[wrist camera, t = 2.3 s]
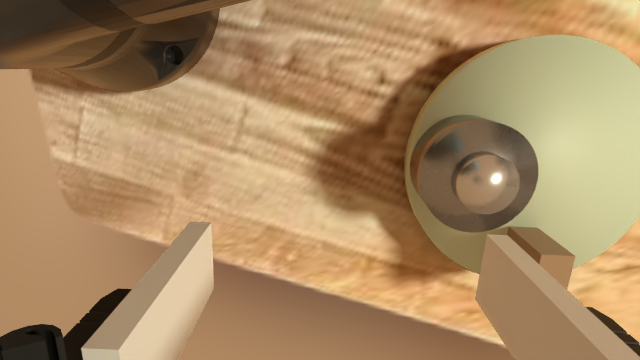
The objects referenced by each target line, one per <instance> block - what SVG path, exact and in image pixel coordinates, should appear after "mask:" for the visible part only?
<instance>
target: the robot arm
mask: <svg viewBox="0 0 640 360" xmlns="http://www.w3.org/2000/svg"><path fill="white" fill-rule="evenodd" d="M246 1H250V0H0V69H50V68H54V69H56V70H58V71H60V72H62V73H64V74H66V75H68V76H70V77H72V78H74V79H76V80H78V81H80V82H83V83H85V84H88V85H91V86H94V87H97V88H102V89H106V90H113V91H138V90H146V89H153V88H157V87H160V86H164V85H166V84H169V83H171V82H173V81H175V80H177V79H178V78H180V77H182V76H183V75H184V74H186V73H187V72H188V71H189V70H190V69H192V68H193V67H194V66H195V65H196V64H197V62H198V61H199V60H200V59H201V57H202V56H203V55H204V53H205V52H206V50H207V48H208V46H209V44H210V42H211V40H212V38H213V35H214V33H215V29H216V26H217V22H218V17H219V10H220V8H222V7H226V6H230V5H234V4H238V3H242V2H246ZM213 278H214V277H213V254H212V231H211V223H206V222H190V223H189V224H188V225H187V226H186V228H185V229H184V230H183V231H182V232H181V233H180V235H179V236H178V237H177V238H176V239H175V240H174V241H173V243H172V244H171V245H170V246H169V247H168V248H167V250H166V251H165V252H164V253H163V254H162V256H161V257H160V258H159V259H158V260H157V261H156V263H154V265H153V266H152V267H151V268H150V269H149V270H148V272H147V273H146V274H145V275H144V276H143V277H142V279H141V280H140V281H139V282H138V283H137V284H136V285H135V287H134V288H133V289H117V290H115V291H113V292H111V293H110V294H108V295H106V296H105V297H103V298H101V299H100V300H99V302H97V303H96V304H95V305H94V307H92V309H91V310H90V311H89V313H87V314H86V315H85V316H84V317H83V318H82V319H81V320H80V323H77V324H76V325H75V326H74V327H73V328H72V329H71V331H70V332H68V333H67V334H66V336H65V337H64V338H63V335H62V333H61V329H59V328H57V327H56V326H53V325H45V324H39V325H33V326H27V327H23V328H20V329H17V330H14V331H12V332H9V333H7V334H5V335H3V336H1V337H0V360H178V359H179V357H180V355H181V353H182V351H183V349H184V347H185V345H186V343H187V341H188V339H189V337H190V335H191V333H192V331H193V329H194V327H195V325H196V323H197V321H198V319H199V317H200V315H201V313H202V311H203V309H204V307H205V305H206V303H207V301H208V299H209V297H210V295H211V293H212V291H213V289H214V279H213ZM475 299H476V301H477V302H478V304H479V305H480V307H481V309H482V310H483V312H484V313H485V315H486V316H487V318H488V319H489V321H490V322H491V324H492V326H493V327H494V329H495V330H496V332H497V333H498V335H499V336H500V338H501V339H502V341H503V342H504V344H505V346H506V347H507V349H508V350H509V352H510V353H511V355H512V356H513V358H514V359H515V360H640V345H639V342H638V341H636V340H635V339H634V338H633V337H632V336H631V335H629V334H627V332H626V331H625V330H624V329H623V328H622V327H620V326H619V325H618V324H617V323H616V322H615V321H614V320H612V319H611V318H609V317H608V316H606V315H604V314H602V313H601V312H599V311H597V310H596V309H594V308H592V307H585V306H584V305H583V304H582V303H581V302H580V301H578V300H577V299H576V298H575V297H574V296H573V295H572V294H571V293H570V292H569V291H568V290H566V289H565V288H564V287H563V286H562V285H561V284H560V283H559V282H558V281H557V280H556V279H555V278H553V277H552V276H551V275H550V274H549V273H548V272H547V271H546V270H545V269H544V268H543V267H541V266H540V265H539V264H538V263H537V262H536V261H535V260H534V259H533V258H532V257H531V256H530V255H528V254H527V253H526V252H525V251H524V250H523V249H522V248H521V247H520V246H519V245H518V244H517V243H515V242H514V241H513V240H512V239H511V238H510V237H509V236H508V235H490V234H487V237H486V242H485V248H484V253H483V259H482V264H481V270H480V276H479V281H478V287H477V292H476V298H475Z"/></svg>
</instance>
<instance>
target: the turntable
mask: <svg viewBox="0 0 640 360" xmlns="http://www.w3.org/2000/svg"><path fill="white" fill-rule="evenodd" d="M456 115H475V116H479V117H482V118H486V119H489V120H492V121H495V122H498V123H501V124H505V125H507V126H510V127H512V128H514V129H515V130H517V131H519V132H520V133H521V134H522V135H523V136H524V137H525V138H526V139H527V140H528V141H529V143H530V144H531V146H532V147H533V149H534V151H535V154H536V157H537V161H538V181H537V185H536V189H535V191H534V194H533V196H532V198H531V199H530V201H529V203H528V204H527V205H526V207H525V208H524V209H523V210H522V211H521V212H520V214H519V215H517V216H516V217H515V218H514V219H513V220H511V221H509V222H508V223H506V224H505V225H503V226H501V227H498V228H496V229H493V230H489V231H485V232H474V233H470V232H462V231H458V230H455V229H452V228H450V227H448V226H446V225H444V224H443V223H442V222H440V221H439V220H438V219H437V218H436V217H435V216H434V215H433V214H432V213H431V211H430V210H429V209H428V207H427V206H426V205H425V203H424V202H423V200H422V199H421V198H420V196H419V195H418V194H417V192H416V191H415V189H414V187H413V184H412V182H411V177H410V159H411V155H412V152H413V149H414V147H415V145H416V143H417V142H418V140H419V139H420V137H421V136H422V135H423V134H424V133H425V132H426V131H427V130H428V129H429V128H430V127H431V126H433V125H434V124H436V123H437V122H439V121H441V120H443V119H446V118H448V117H452V116H456ZM404 176H405V187H406V191H407V195H408V199H409V202H410V205H411V207H412V210H413V213H414V215H415V216H416V218H417V220H418V221H419V223H420V225H421V227H422V228H423V230H424V232H425V233H426V235H427V236H428V237H429V239H430V240H431V241H432V242H433V244H434V245H435V246H436V247H437V248H438V249H439V250H440V251H441V252H442V253H443V254H444V255H445V256H447V257H448V258H450V259H451V260H452V261H454V262H455V263H457V264H458V265H460V266H462V267H464V268H466V269H468V270H470V271H473V272H475V273H478V274H480V270H481V264H482V259H483V253H484V248H485V242H486V237H487V234H490V235H508V236H509V237H510V238H511V239H512V240H513V241H514V242H515V243H517V244H518V245H519V246H520V247H521V248H522V249H523V250H524V251H525V252H526V253H527V254H528V255H530V256H531V257H532V258H533V259H534V260H535V261H536V262H537V263H538V264H539V265H540V266H541V267H543V268H544V269H545V270H546V271H547V272H548V273H549V274H550V275H551V276H552V277H553V278H555V279H556V280H557V281H558V282H559V283H560V284H561V285H562V286H563V287H564V288H565V289H566V290H567V287H568V283H569V279H570V275H571V272H572V269H574V268H576V267H578V266H580V265H583V264H585V263H587V262H589V261H590V260H592V259H593V258H595V257H597V256H598V255H600V254H602V253H603V252H604V251H606V250H607V249H608V248H610V247H611V246H612V245H613V244H615V243H616V242H617V241H618V240H619V239H620V238H621V237H622V236H623V235H624V234H625V233H626V232H627V231H628V230H629V229H630V228H631V227H632V226H633V224H634V223H635V222H636V221H637V220H638V218H639V217H640V68H639V67H638V66H637V65H636V64H635V63H634V62H633V61H631V60H630V59H629V58H628V57H627V56H625V55H624V54H622V53H621V52H619V51H617V50H616V49H614V48H612V47H610V46H608V45H606V44H603V43H601V42H599V41H595V40H592V39H588V38H584V37H579V36H571V35H543V36H536V37H529V38H523V39H517V40H512V41H509V42H505V43H502V44H499V45H496V46H494V47H491V48H489V49H487V50H484V51H482V52H480V53H478V54H477V55H475V56H473V57H472V58H470V59H468V60H467V61H465V62H464V63H462V64H461V65H460V66H458V67H457V68H456V69H455V70H453V71H452V72H451V73H450V74H449V75H448V76H447V77H446V78H445V79H444V80H443V81H442V82H441V83H440V84H439V85H438V86H437V87H436V88H435V90H434V91H433V92H432V93H431V95H430V96H429V97H428V99H427V100H426V102H425V103H424V105H423V107H422V108H421V110H420V111H419V113H418V116H417V118H416V120H415V122H414V124H413V126H412V129H411V133H410V136H409V139H408V142H407V148H406V153H405V164H404Z"/></svg>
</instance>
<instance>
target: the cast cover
mask: <svg viewBox="0 0 640 360" xmlns="http://www.w3.org/2000/svg"><path fill="white" fill-rule="evenodd" d="M410 177H411V182H412V184H413V187H414V189H415V191H416V192H417V194H418V195H419V196H420V198H421V199H422V200H423V202H424V203H425V205H426V206H427V207H428V209H429V210H430V211H431V213H432V214H433V215H434V216H435V217H436V218H437V219H438V220H439V221H440V222H442V223H443V224H444V225H446V226H448V227H450V228H452V229H455V230H458V231H462V232H470V233H474V232H485V231H489V230H493V229H496V228H498V227H501V226H503V225H505V224H506V223H508V222H509V221H511V220H513V219H514V218H515V217H516V216H517V215H519V214H520V212H521V211H522V210H523V209H524V208H525V207H526V205H527V204H528V203H529V201H530V199H531V198H532V196H533V194H534V191H535V189H536V185H537V181H538V161H537V157H536V154H535V151H534V149H533V147H532V146H531V144H530V143H529V141H528V140H527V139H526V138H525V137H524V136H523V135H522V134H521V133H520V132H519V131H517V130H515V129H514V128H512V127H510V126H507V125H505V124H501V123H498V122H495V121H492V120H489V119H486V118H482V117H479V116H475V115H456V116H452V117H448V118H446V119H443V120H441V121H439V122H437V123H436V124H434V125H433V126H431V127H430V128H429V129H428V130H427V131H426V132H425V133H424V134H423V135H422V136H421V137H420V139H419V140H418V142H417V143H416V145H415V147H414V149H413V152H412V155H411V159H410Z"/></svg>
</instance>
